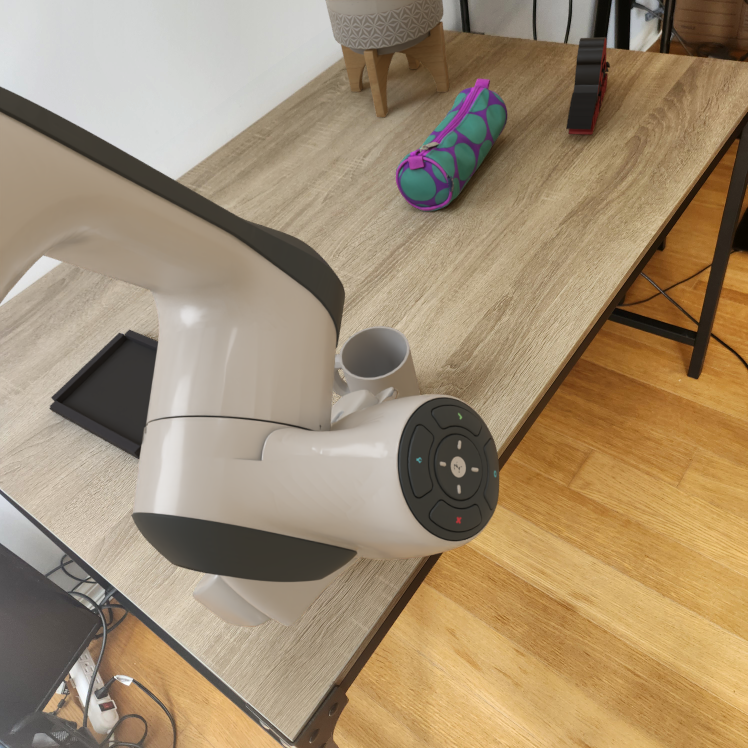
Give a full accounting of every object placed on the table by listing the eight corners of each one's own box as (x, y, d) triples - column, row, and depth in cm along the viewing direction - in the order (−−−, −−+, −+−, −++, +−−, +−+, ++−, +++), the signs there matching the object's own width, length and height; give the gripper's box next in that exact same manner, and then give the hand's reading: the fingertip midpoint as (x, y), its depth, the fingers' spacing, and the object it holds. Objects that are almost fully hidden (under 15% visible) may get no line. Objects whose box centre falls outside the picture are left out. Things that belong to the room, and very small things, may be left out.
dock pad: (225, 375, 79) (220, 367, 78) (146, 463, 73) (139, 456, 72) (130, 335, 88) (124, 327, 87) (51, 411, 81) (44, 403, 80)
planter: (371, 65, 127) (340, -91, 107) (464, 63, 120) (449, -104, 100) (332, 116, 116) (291, -46, 97) (431, 118, 109) (408, -56, 90)
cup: (415, 435, 68) (401, 382, 62) (326, 427, 71) (304, 376, 65) (427, 382, 73) (415, 327, 66) (343, 377, 76) (324, 324, 69)
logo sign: (589, 143, 96) (594, 69, 88) (565, 142, 97) (568, 69, 89) (608, 82, 106) (614, 10, 97) (586, 82, 107) (590, 11, 99)
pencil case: (455, 221, 90) (448, 160, 83) (399, 211, 94) (388, 152, 87) (511, 139, 100) (509, 79, 93) (459, 134, 104) (453, 75, 97)
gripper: (376, 356, 49) (310, 394, 61) (199, 590, 39) (162, 581, 51) (435, 410, 50) (358, 437, 62) (277, 651, 41) (223, 627, 53)
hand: (268, 503), depth 57 cm, fingers open, 8 cm apart
